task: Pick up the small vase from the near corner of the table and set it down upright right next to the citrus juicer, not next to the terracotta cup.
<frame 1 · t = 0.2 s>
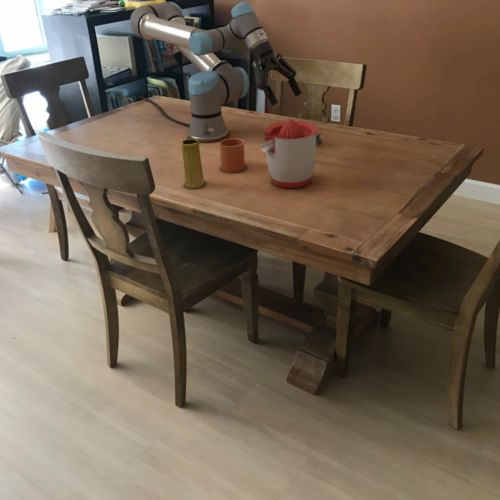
hand: (287, 99, 185), 15 cm above the table, tool tilted 35°, fingers open, 13 cm apart
vase: (194, 185, 164), on the table
citrus juicer: (288, 182, 162), on the table
terracotta cup: (233, 167, 174), on the table
rhino figurine: (309, 144, 190), on the table
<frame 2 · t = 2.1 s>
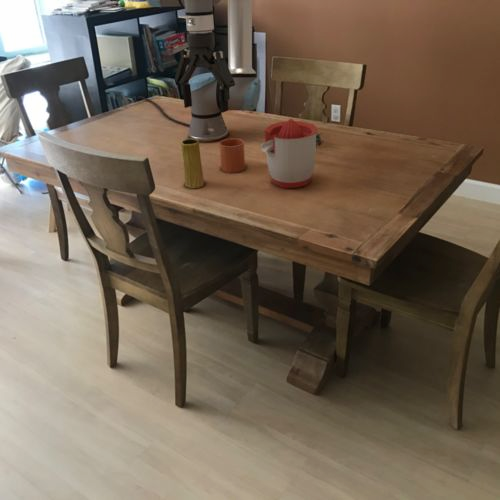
hand: (206, 109, 153), 23 cm above the table, tool pointing down, fingers open, 13 cm apart
nothing on the table moved.
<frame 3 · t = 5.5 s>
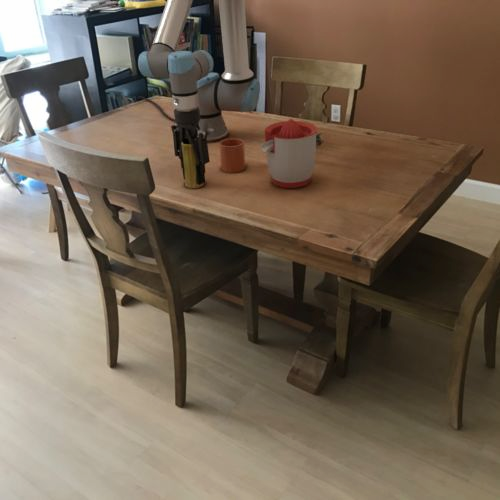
hand: (194, 180, 163), 1 cm above the table, tool pointing down, fingers closed on vase, 6 cm apart
vase: (194, 185, 164), on the table, touching gripper
everything else where it was.
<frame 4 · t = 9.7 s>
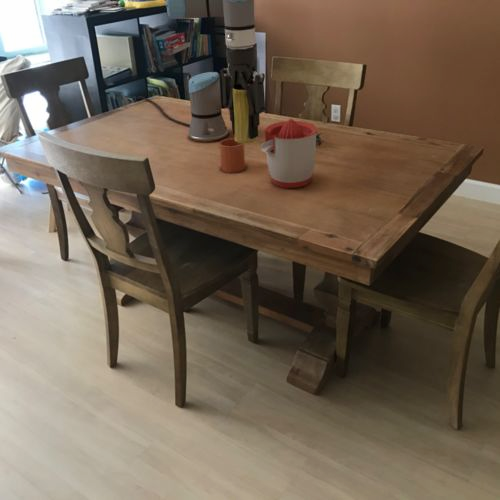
hand: (245, 134, 142), 20 cm above the table, tool pointing down, fingers closed on vase, 6 cm apart
vase: (245, 140, 143), point 18 cm above the table, touching gripper
everything else where it was.
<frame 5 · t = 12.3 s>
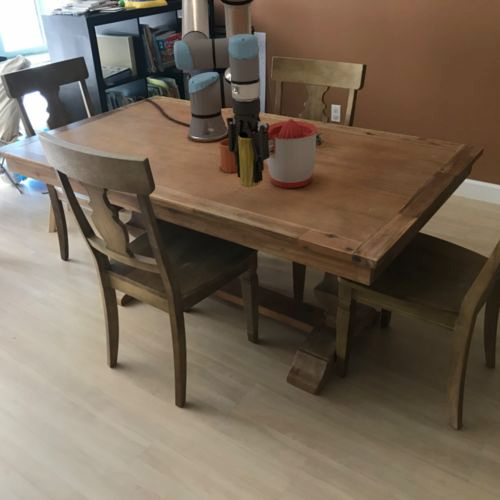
hand: (249, 178, 148), 7 cm above the table, tool pointing down, fingers closed on vase, 6 cm apart
vase: (250, 183, 149), point 6 cm above the table, touching gripper
everything else where it was.
when the fingers open (1 cm above the table, at t = 14.0 s): vase stays where it is, on the table.
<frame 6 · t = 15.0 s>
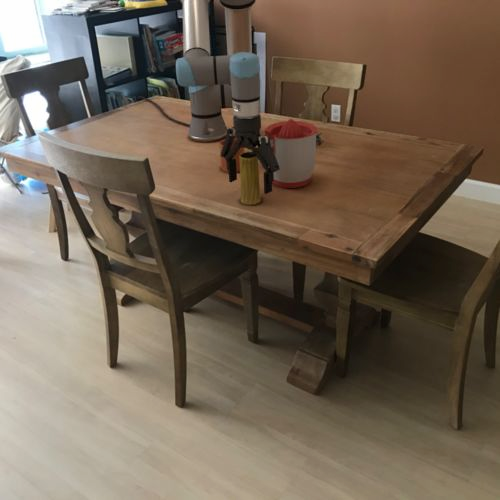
hand: (250, 186, 150), 4 cm above the table, tool pointing down, fingers open, 13 cm apart
vase: (250, 201, 152), on the table
everything else where it was.
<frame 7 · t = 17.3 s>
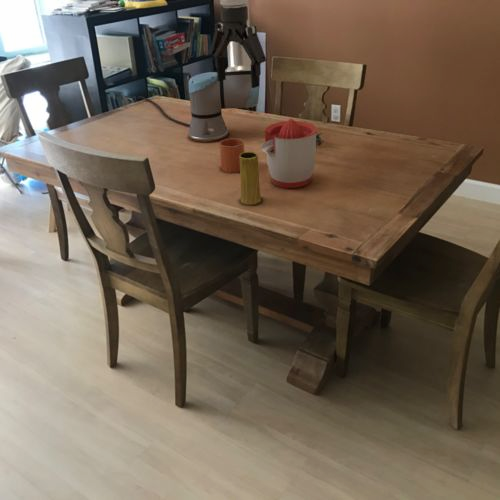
hand: (238, 83, 154), 29 cm above the table, tool pointing down, fingers open, 13 cm apart
nothing on the table moved.
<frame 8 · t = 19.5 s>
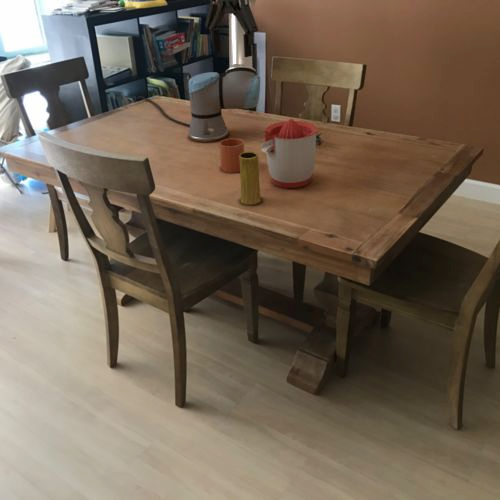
hand: (232, 54, 163), 35 cm above the table, tool pointing down, fingers open, 13 cm apart
nothing on the table moved.
at the end: vase 17.1 cm from the citrus juicer (horizontally); vase tilted 0°; vase inside the target area (0.1 cm from its centre), on the table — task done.
